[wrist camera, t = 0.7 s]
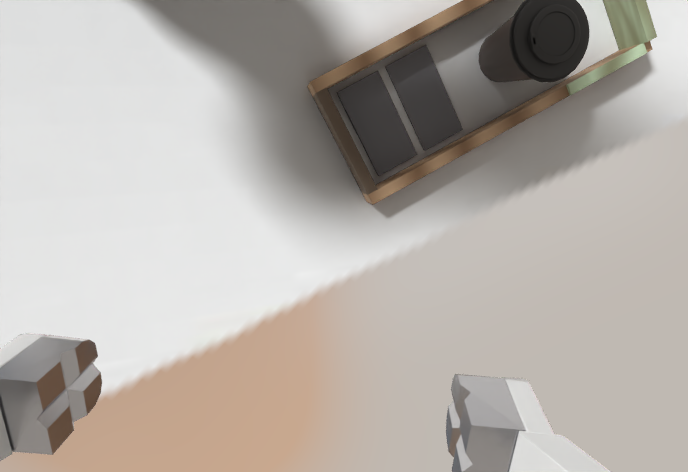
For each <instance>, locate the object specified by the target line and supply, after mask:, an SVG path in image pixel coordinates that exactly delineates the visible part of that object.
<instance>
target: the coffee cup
mask: <svg viewBox="0 0 688 472" xmlns="http://www.w3.org/2000/svg"><path fill="white" fill-rule="evenodd" d="M588 41H589V25H588V20H587V16H586V14H585V12H584V10H583V8H582V7H581V5H580V4H579V3H578V2H577V1H576V0H525V1H524V2H523V3H522V4H521V6H520V7H519V9H518V10H517V12H516V13H515V15H514V16H513V17H512V18H511V19H510V20H508V21H507V22H506V23H505V24H504V25H502V26H501V27H500V28H499V29H498V30H496V31H495V32H494V33H493V34H492V35H490V36H489V37H488V38H487V39H486V40H485V41H484V43H483V44H482V46H481V49H480V52H479V64H480V68H481V70H482V72H483V73H484V75H485V76H486V77H488V78H489V79H490V80H493V81H495V82H508V81H519V80H530V79H534V80H536V81H539V82H554V81H557V80H560V79H562V78H565V77H566V76H567V75H569V74H570V73H571V72H572V71H574V70H575V69H576V67H577V66H578V64H579V63H580V61H581V60H582V58H583V56H584V54H585V52H586V49H587V46H588Z"/></svg>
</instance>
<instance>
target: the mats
mask: <svg viewBox="0 0 688 472" xmlns="http://www.w3.org/2000/svg"><path fill="white" fill-rule="evenodd" d="M386 70H387V72H388V74H389V76H390V78H391V80H392V83H393V85H394V87H395V89H396V91H397V93H398V95H399V98H400V100H401V102H402V104H403V106H404V108H405V111H406V113H407V115H408V117H409V119H410V121H411V124H412V126H413V128H414V130H415V132H416V134H417V136H418V139H419V141H420V143H421V145H422V147H423V149H424V150H426V149H428V148H430V147H432V146H434V145H435V144H437V143H439V142H441V141H443V140H445V139H446V138H448V137H450V136H452V135H454V134H455V133H457V132H459V131H461V130H463V129H462V126H461V124H460V122H459V120H458V117H457V115H456V113H455V110H454V108H453V106H452V104H451V101H450V99H449V97H448V94H447V92H446V90H445V87H444V85H443V83H442V81H441V78H440V76H439V74H438V71H437V69H436V67H435V64H434V62H433V60H432V58H431V55H430V53H429V51H428V48H427V46H426V45H425V46H423V47H421V48H420V49H418V50H416V51H414V52H412V53H410V54H408V55H406V56H405V57H403V58H401V59H399V60H397V61H395V62H393V63H391V64H390V65H388V66H386ZM337 94H338V96H339V98H340V100H341V102H342V104H343V106H344V108H345V110H346V112H347V114H348V116H349V118H350V120H351V122H352V124H353V126H354V128H355V130H356V132H357V134H358V136H359V138H360V140H361V142H362V144H363V146H364V148H365V150H366V152H367V154H368V156H369V158H370V160H371V162H372V164H373V166H374V168H375V170H376V172H377V174H378V176H379V175H381V174H383V173H385V172H387V171H388V170H390V169H392V168H394V167H396V166H397V165H399V164H401V163H403V162H405V161H406V160H408V159H410V158H412V157H414V156H416V155H417V153H416V151H415V149H414V147H413V144H412V142H411V140H410V138H409V136H408V134H407V132H406V130H405V127H404V125H403V123H402V121H401V119H400V117H399V115H398V112H397V110H396V108H395V106H394V104H393V102H392V100H391V98H390V95H389V93H388V91H387V89H386V87H385V85H384V83H383V81H382V78H381V76H380V74H379V72H378V71H377V72H375V73H373V74H371V75H369V76H367V77H365V78H363V79H362V80H360V81H358V82H356V83H354V84H352V85H350V86H348V87H347V88H345V89H343V90H341V91H339V92H337Z"/></svg>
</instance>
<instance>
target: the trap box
mask: <svg viewBox="0 0 688 472" xmlns="http://www.w3.org/2000/svg"><path fill="white" fill-rule="evenodd" d="M492 1H493V0H463V1H461V2H459V3H457V4H455V5H454V6H452V7H450V8H448V9H446V10H444V11H442V12H440V13H439V14H437V15H435V16H433V17H431V18H429V19H427V20H425V21H423V22H422V23H420V24H418V25H416V26H414V27H412V28H410V29H408V30H406V31H405V32H403V33H401V34H399V35H397V36H395V37H393V38H391V39H390V40H388V41H386V42H384V43H382V44H380V45H378V46H376V47H374V48H373V49H371V50H369V51H367V52H365V53H363V54H361V55H359V56H358V57H356V58H354V59H352V60H350V61H348V62H346V63H344V64H342V65H341V66H339V67H337V68H335V69H333V70H331V71H329V72H327V73H325V74H324V75H322V76H320V77H318V78H316V79H314V80H312V81H310V83H309V84H308V88H309V90H310V92H311V94H312V96H313V98H314V100H315V102H316V104H317V106H318V108H319V110H320V112H321V114H322V116H323V118H324V120H325V121H326V123H327V125H328V127H329V129H330V131H331V133H332V135H333V137H334V139H335V141H336V143H337V145H338V147H339V149H340V151H341V153H342V155H343V157H344V158H345V160H346V162H347V164H348V166H349V168H350V170H351V172H352V174H353V176H354V178H355V180H356V182H357V184H358V186H359V188H360V190H361V192H362V194H363V195H364V197H365V199H366V201H367V202H368V203H370V204H372V205H373V204H375V203H377V202H379V201H381V200H382V199H384V198H386V197H388V196H390V195H391V194H393V193H395V192H397V191H399V190H400V189H402V188H404V187H406V186H408V185H409V184H411V183H413V182H415V181H417V180H418V179H420V178H422V177H424V176H426V175H427V174H429V173H431V172H433V171H435V170H436V169H438V168H440V167H442V166H444V165H445V164H447V163H449V162H451V161H453V160H454V159H456V158H458V157H460V156H462V155H463V154H465V153H467V152H469V151H471V150H472V149H474V148H476V147H478V146H480V145H481V144H483V143H485V142H487V141H489V140H490V139H492V138H494V137H496V136H498V135H499V134H501V133H503V132H505V131H507V130H508V129H510V128H512V127H514V126H516V125H517V124H519V123H521V122H523V121H525V120H526V119H528V118H530V117H532V116H534V115H535V114H537V113H539V112H541V111H543V110H544V109H546V108H548V107H550V106H552V105H553V104H555V103H557V102H559V101H561V100H562V99H564V98H566V97H568V96H570V95H572V94H574V93H576V92H578V91H580V90H581V89H583V88H585V87H587V86H589V85H590V84H592V83H594V82H596V81H598V80H599V79H601V78H603V77H605V76H607V75H608V74H610V73H612V72H614V71H616V70H617V69H619V68H621V67H623V66H625V65H626V64H628V63H630V62H632V61H634V60H635V59H637V58H639V57H641V56H643V55H644V54H646V53H647V52H649V51H650V50H652V46H651V43H650V40H652V39H654V38H656V37H657V35H656V32H655V29H654V25H653V22H652V19H651V15H650V12H649V9H648V6H647V2H646V0H603V2H604V5H605V8H606V11H607V14H608V17H609V20H610V23H611V26H612V29H613V32H614V35H615V39H616V42H617V45H618V48H619V51H617V52H615V53H614V54H612V55H610V56H608V57H606V58H605V59H603V60H601V61H599V62H597V63H595V64H594V65H592V66H590V67H588V68H586V69H585V70H583V71H581V72H579V73H577V74H576V75H574V76H572V77H570V78H568V79H567V80H565V81H563V82H561V83H559V84H557V85H556V86H554V87H552V88H550V89H548V90H547V91H545V92H543V93H541V94H539V95H538V96H536V97H534V98H532V99H530V100H529V101H527V102H525V103H523V104H521V105H520V106H518V107H516V108H514V109H512V110H510V111H509V112H507V113H505V114H503V115H501V116H500V117H498V118H496V119H494V120H492V121H491V122H489V123H487V124H485V125H483V126H482V127H480V128H478V129H476V130H474V131H473V132H471V133H469V134H467V135H465V136H463V137H462V138H460V139H458V140H456V141H454V142H453V143H451V144H449V145H447V146H445V147H444V148H442V149H440V150H438V151H436V152H435V153H433V154H431V155H429V156H427V157H425V158H424V159H422V160H420V161H418V162H416V163H415V164H413V165H411V166H409V167H407V168H406V169H404V170H402V171H400V172H398V173H397V174H395V175H393V176H391V177H389V178H388V179H386V180H384V181H382V182H380V183H378V184H377V185H375V183H374V181H373V179H372V177H371V175H370V173H369V171H368V169H367V167H366V165H365V163H364V161H363V159H362V157H361V155H360V153H359V151H358V149H357V147H356V145H355V143H354V141H353V139H352V137H351V135H350V133H349V131H348V129H347V127H346V125H345V124H344V122H343V120H342V118H341V116H340V114H339V112H338V110H337V108H336V106H335V104H334V102H333V100H332V98H331V96H330V94H329V92H328V90H327V89H328V88H330V87H332V86H334V85H336V84H338V83H340V82H342V81H343V80H345V79H347V78H349V77H351V76H353V75H355V74H357V73H358V72H360V71H362V70H364V69H366V68H368V67H370V66H372V65H373V64H375V63H377V62H379V61H381V60H383V59H385V58H387V57H388V56H390V55H392V54H394V53H396V52H398V51H400V50H402V49H403V48H405V47H407V46H409V45H411V44H413V43H415V42H417V41H418V40H420V39H422V38H424V37H426V36H428V35H430V34H432V33H433V32H435V31H437V30H439V29H441V28H443V27H445V26H447V25H448V24H450V23H452V22H454V21H456V20H458V19H460V18H462V17H463V16H465V15H467V14H469V13H471V12H473V11H475V10H477V9H478V8H480V7H482V6H484V5H486V4H488V3H490V2H492Z"/></svg>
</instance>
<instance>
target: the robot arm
mask: <svg viewBox="0 0 688 472" xmlns="http://www.w3.org/2000/svg"><path fill="white" fill-rule="evenodd" d="M97 357H98V354H97V350H96V345H95V343H94V342H92V341H91V340H88V339H80V338H71V337H62V336H54V335H44V334H33V333H26V334H20V335H19V336H17V337H16V338H14V339H13V340H11V341H10V342H9V343H7V344H6V345H4V346H3V347H2V348H0V461H1V460H3V459H4V458H6V457H8V456H9V455H11V454H12V452H25V453H39V454H54V453H55V451H56V450H57V449H58V448H59V447H60V445H62V443H63V442H64V441H65V440H66V439H67V438H68V436H69V435H70V434H71V433H72V432H73V431H74V421H77V420H78V419H80V418H82V417H84V416H86V415H88V413H89V412H90V411H91V410H92V409H93V407H94V406H95V405H96V402H97V400H98V398H99V395H100V393H101V386H102V379H101V372H100V371H99V370H98V369H97V368H96V367H95V366H94V364H93V362H94V361H95V359H96V358H97ZM451 391H452V396H453V400H454V401H453V402H452V403H451V404H450V405H449V406H448V412H447V420H446V436H447V444H448V451H449V453H450V454H451V455H452V456H453V457H454V460H453V466H452V472H611V471H609V470H608V469H607V468H606V467H604V466H603V465H602V464H600V463H599V462H598V461H596V460H595V459H593V458H592V457H591V456H590V455H588V454H587V453H586V452H584V451H583V450H582V449H580V448H579V447H578V446H576V445H575V444H574V443H572V442H571V441H570V440H568V439H567V438H566V437H564V436H563V435H557V434H555V433H554V431H553V429H552V427H551V425H550V423H549V421H548V419H547V417H546V415H545V413H544V411H543V409H542V407H541V405H540V403H539V401H538V399H537V397H536V395H535V393H534V391H533V389H532V387H531V385H530V383H529V382H528V381H527V380H526V379H523V378H507V377H501V378H497V377H485V376H473V375H461V374H455V375H454V378H453V381H452V387H451Z"/></svg>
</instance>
